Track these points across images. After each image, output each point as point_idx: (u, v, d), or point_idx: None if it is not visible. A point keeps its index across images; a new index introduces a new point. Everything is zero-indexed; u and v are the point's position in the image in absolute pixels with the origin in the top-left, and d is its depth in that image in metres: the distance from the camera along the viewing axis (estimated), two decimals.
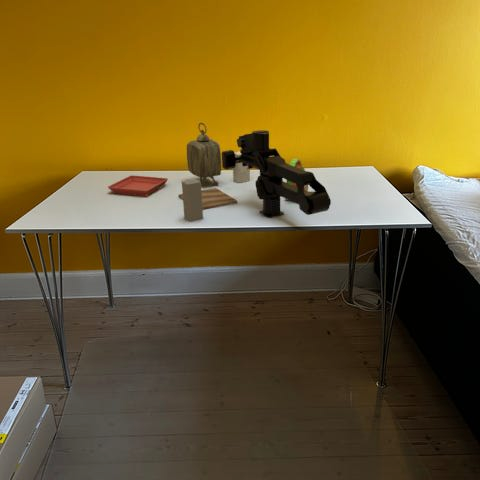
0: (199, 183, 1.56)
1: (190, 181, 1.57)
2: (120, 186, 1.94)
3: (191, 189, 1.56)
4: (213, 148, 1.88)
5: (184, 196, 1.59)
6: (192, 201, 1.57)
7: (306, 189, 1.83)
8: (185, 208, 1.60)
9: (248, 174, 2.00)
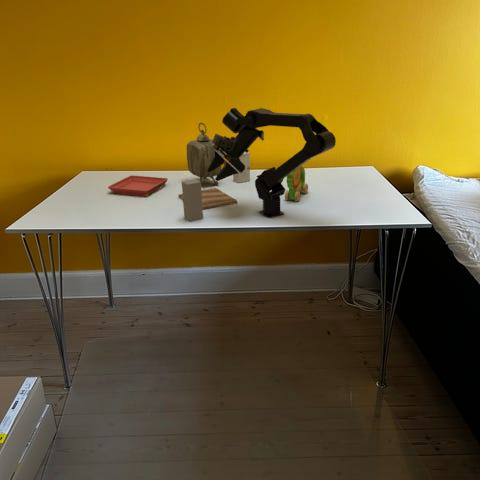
0: (199, 183, 1.56)
1: (190, 181, 1.57)
2: (120, 186, 1.94)
3: (191, 189, 1.56)
4: (213, 148, 1.88)
5: (184, 196, 1.59)
6: (192, 201, 1.57)
7: (306, 189, 1.83)
8: (185, 208, 1.60)
9: (248, 174, 2.00)
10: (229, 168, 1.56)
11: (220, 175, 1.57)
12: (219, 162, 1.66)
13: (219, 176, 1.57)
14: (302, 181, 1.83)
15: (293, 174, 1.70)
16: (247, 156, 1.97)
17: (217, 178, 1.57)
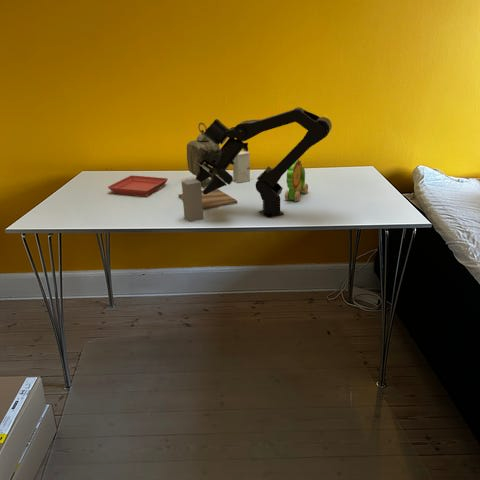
0: (199, 183, 1.56)
1: (190, 181, 1.57)
2: (120, 186, 1.94)
3: (191, 189, 1.56)
4: (213, 148, 1.88)
5: (184, 196, 1.59)
6: (192, 201, 1.57)
7: (306, 189, 1.83)
8: (185, 208, 1.60)
9: (248, 174, 2.00)
10: (216, 181, 1.55)
11: (208, 188, 1.55)
12: (204, 176, 1.64)
13: (207, 189, 1.55)
14: (302, 181, 1.83)
15: (293, 174, 1.70)
16: (247, 156, 1.97)
17: (205, 191, 1.55)
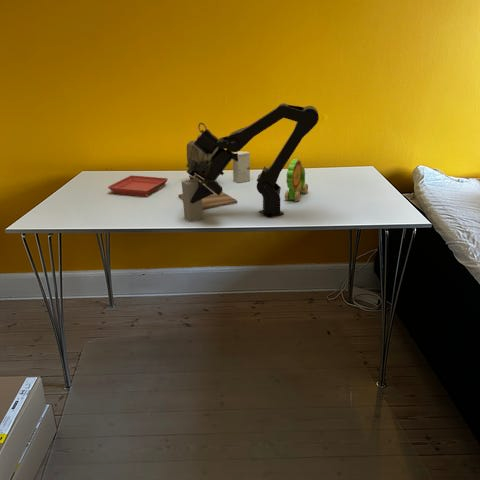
0: None
1: (190, 181, 1.57)
2: (120, 186, 1.94)
3: (191, 189, 1.56)
4: None
5: (184, 196, 1.59)
6: None
7: (306, 189, 1.83)
8: (185, 208, 1.60)
9: (248, 174, 2.00)
10: (204, 190, 1.56)
11: (195, 197, 1.56)
12: None
13: (194, 198, 1.56)
14: (302, 181, 1.83)
15: (293, 174, 1.70)
16: (247, 156, 1.97)
17: (192, 200, 1.57)
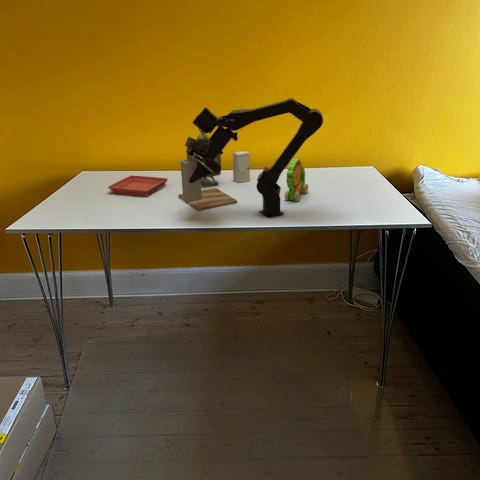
0: None
1: (189, 160, 1.55)
2: (120, 186, 1.94)
3: (189, 168, 1.53)
4: None
5: (183, 176, 1.56)
6: None
7: (306, 189, 1.83)
8: (184, 188, 1.58)
9: (248, 174, 2.00)
10: (202, 169, 1.54)
11: (194, 177, 1.54)
12: None
13: (193, 178, 1.54)
14: (302, 181, 1.83)
15: (293, 174, 1.70)
16: (247, 156, 1.97)
17: (191, 180, 1.54)
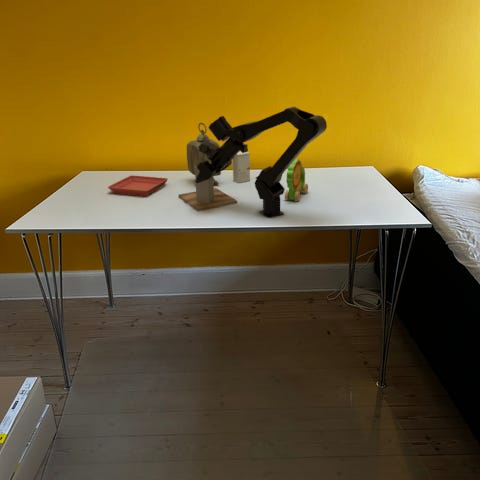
0: None
1: None
2: (120, 186, 1.94)
3: (198, 172, 1.70)
4: None
5: None
6: (199, 184, 1.71)
7: (306, 189, 1.83)
8: None
9: (248, 174, 2.00)
10: None
11: (198, 178, 1.68)
12: (216, 169, 1.74)
13: (197, 179, 1.68)
14: (302, 181, 1.83)
15: (293, 174, 1.70)
16: (247, 156, 1.97)
17: (196, 180, 1.69)
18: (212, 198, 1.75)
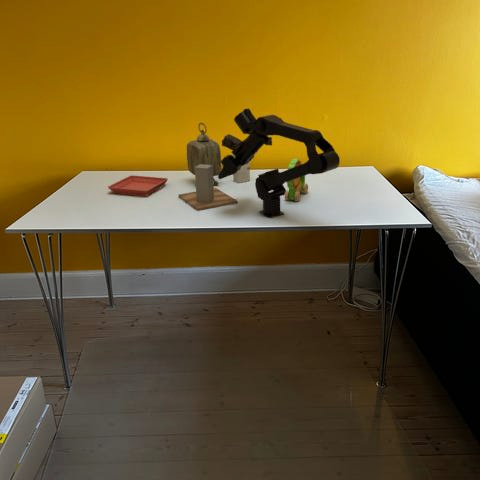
0: (206, 169, 1.68)
1: (203, 166, 1.71)
2: (120, 186, 1.94)
3: (198, 172, 1.70)
4: (213, 148, 1.88)
5: None
6: (199, 184, 1.71)
7: (306, 189, 1.83)
8: None
9: (248, 174, 2.00)
10: None
11: (221, 174, 1.63)
12: None
13: (220, 174, 1.64)
14: (302, 181, 1.83)
15: None
16: None
17: (219, 176, 1.64)
18: (212, 198, 1.75)
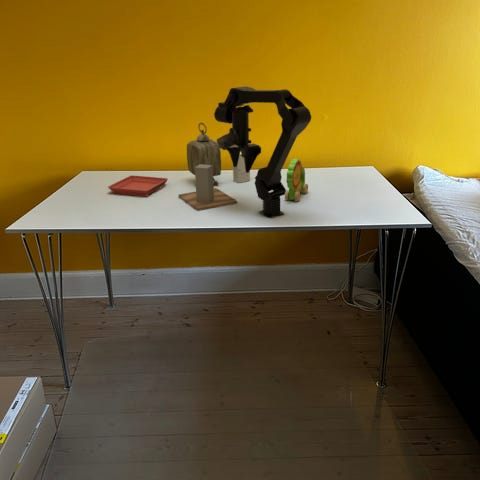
0: (206, 169, 1.68)
1: (203, 166, 1.71)
2: (120, 186, 1.94)
3: (198, 172, 1.70)
4: (213, 148, 1.88)
5: None
6: (199, 184, 1.71)
7: (306, 189, 1.83)
8: None
9: (248, 174, 2.00)
10: (249, 156, 1.62)
11: (248, 166, 1.64)
12: (236, 152, 1.72)
13: (247, 168, 1.64)
14: (302, 181, 1.83)
15: (293, 174, 1.70)
16: None
17: (247, 170, 1.65)
18: (212, 198, 1.75)
